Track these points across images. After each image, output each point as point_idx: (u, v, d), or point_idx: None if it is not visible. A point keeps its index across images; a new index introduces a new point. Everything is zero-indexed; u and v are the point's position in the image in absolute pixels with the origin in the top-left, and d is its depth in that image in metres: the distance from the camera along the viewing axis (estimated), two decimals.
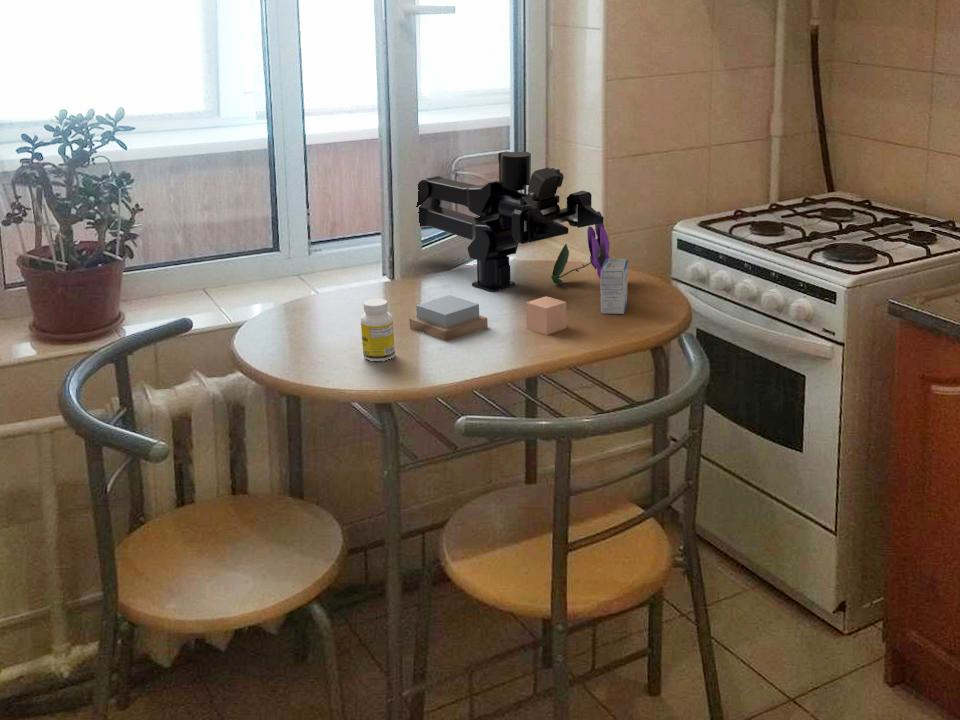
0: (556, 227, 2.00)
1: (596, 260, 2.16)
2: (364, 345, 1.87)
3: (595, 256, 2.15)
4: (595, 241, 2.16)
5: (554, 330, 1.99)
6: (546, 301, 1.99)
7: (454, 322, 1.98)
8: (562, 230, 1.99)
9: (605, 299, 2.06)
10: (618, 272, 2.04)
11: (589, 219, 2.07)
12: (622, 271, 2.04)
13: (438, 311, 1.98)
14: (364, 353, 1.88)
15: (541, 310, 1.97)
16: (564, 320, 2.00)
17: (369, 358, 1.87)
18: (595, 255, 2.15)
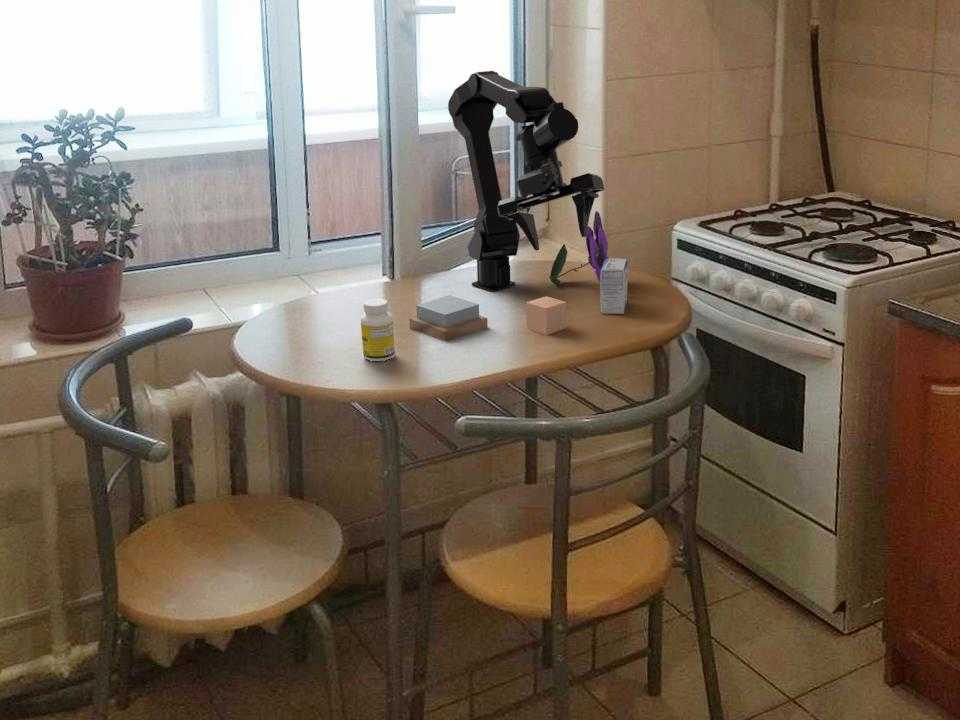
0: None
1: (594, 260, 2.16)
2: (364, 345, 1.87)
3: (593, 256, 2.16)
4: (593, 241, 2.16)
5: (554, 330, 1.99)
6: (546, 301, 1.99)
7: (453, 322, 1.98)
8: None
9: (605, 299, 2.06)
10: (618, 272, 2.04)
11: None
12: (622, 271, 2.04)
13: (438, 311, 1.98)
14: (364, 353, 1.88)
15: (541, 310, 1.97)
16: (564, 320, 2.00)
17: (369, 358, 1.87)
18: (593, 255, 2.16)
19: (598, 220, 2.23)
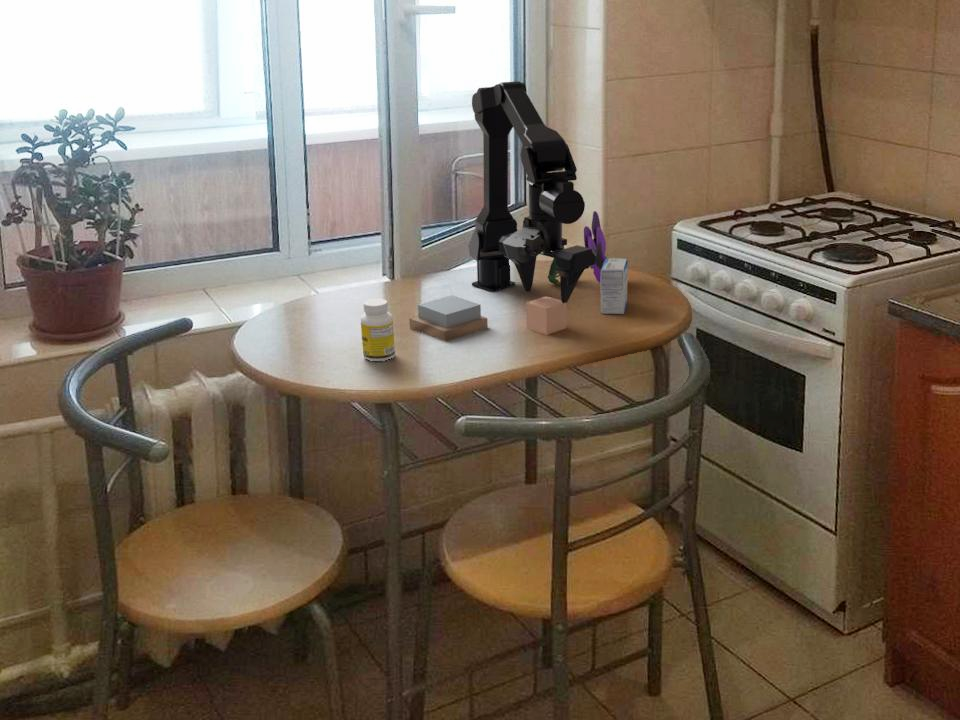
0: None
1: None
2: (364, 345, 1.87)
3: None
4: (591, 241, 2.17)
5: (554, 330, 1.99)
6: (546, 301, 1.99)
7: (454, 322, 1.98)
8: None
9: (605, 299, 2.06)
10: (618, 272, 2.04)
11: None
12: (622, 271, 2.04)
13: (439, 311, 1.98)
14: (364, 353, 1.88)
15: (541, 310, 1.97)
16: (564, 320, 2.00)
17: (369, 358, 1.87)
18: None
19: (596, 220, 2.23)
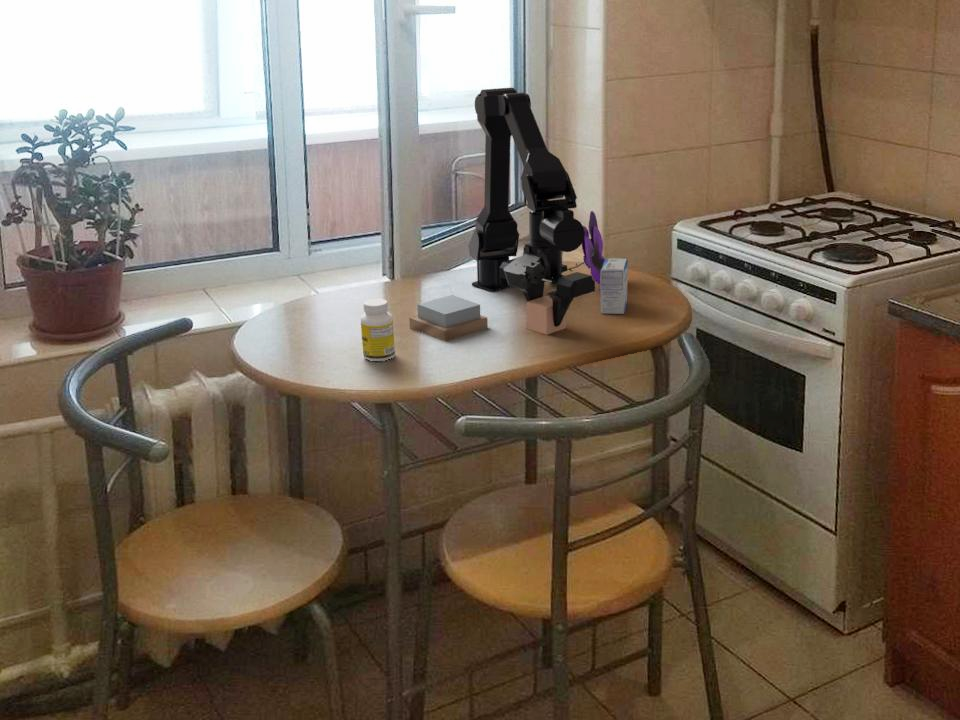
0: None
1: (589, 260, 2.17)
2: (364, 345, 1.87)
3: (588, 256, 2.16)
4: (588, 241, 2.17)
5: (554, 329, 1.99)
6: (545, 301, 1.99)
7: (454, 322, 1.97)
8: None
9: (605, 299, 2.06)
10: (618, 272, 2.04)
11: None
12: (622, 271, 2.04)
13: (438, 310, 1.97)
14: (364, 353, 1.88)
15: (541, 309, 1.97)
16: (564, 320, 2.00)
17: (369, 358, 1.87)
18: (588, 255, 2.16)
19: (593, 220, 2.24)
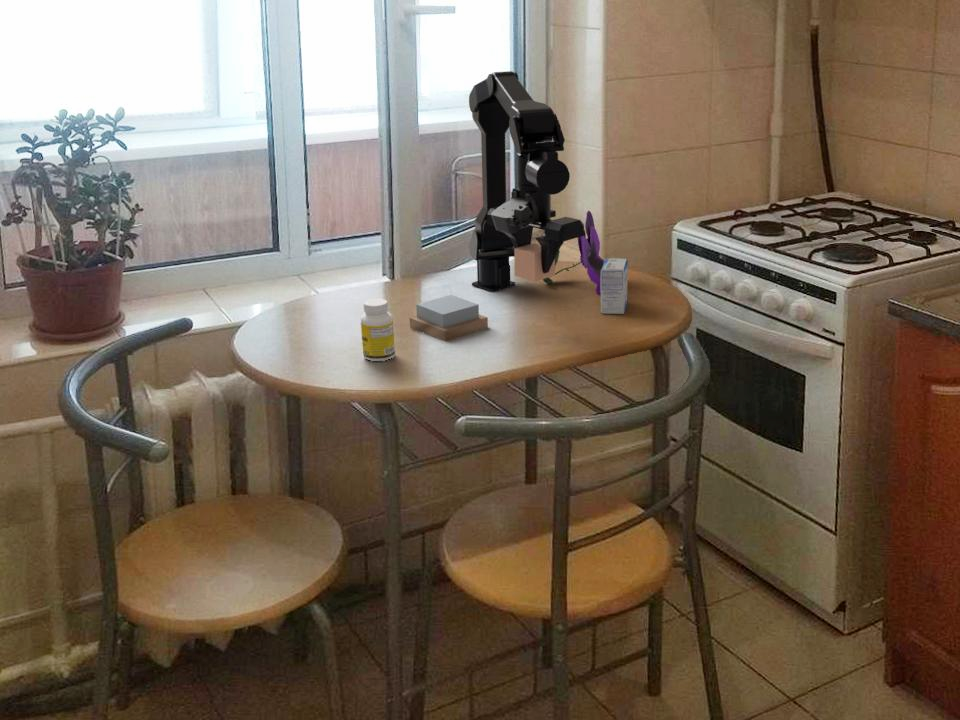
0: None
1: (586, 259, 2.17)
2: (364, 345, 1.87)
3: (585, 255, 2.16)
4: (585, 240, 2.17)
5: (543, 276, 1.95)
6: (534, 247, 1.96)
7: (452, 322, 1.97)
8: None
9: (605, 299, 2.06)
10: (618, 272, 2.04)
11: None
12: (622, 271, 2.04)
13: (436, 310, 1.98)
14: (364, 353, 1.88)
15: (530, 255, 1.93)
16: (552, 267, 1.96)
17: (369, 358, 1.87)
18: (585, 254, 2.16)
19: (590, 220, 2.24)
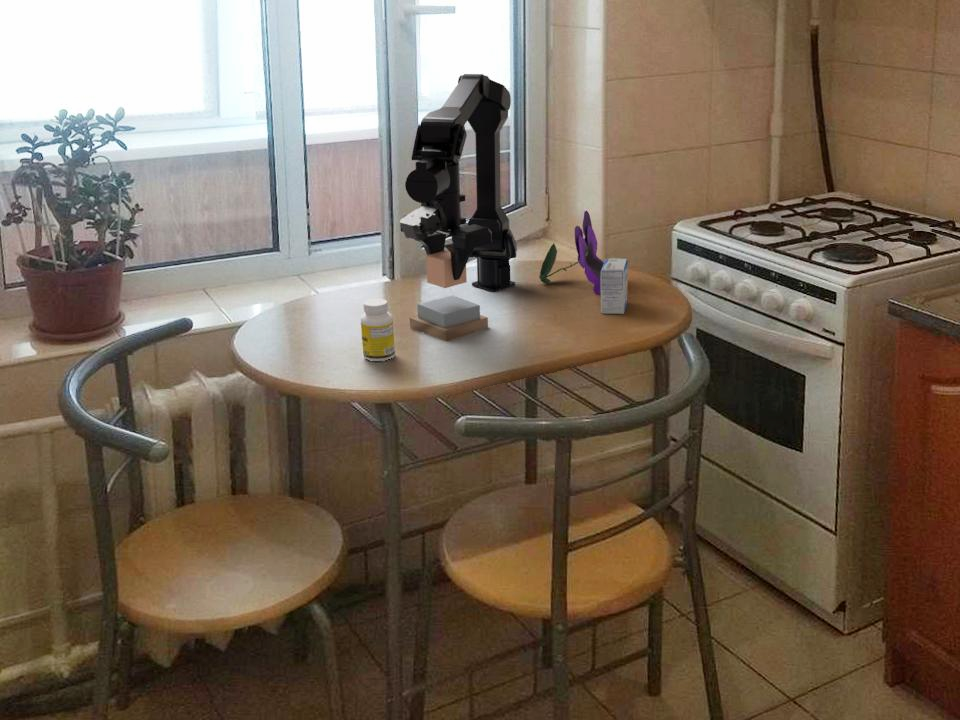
0: None
1: (583, 259, 2.17)
2: (364, 345, 1.87)
3: (582, 255, 2.16)
4: (582, 240, 2.17)
5: (453, 283, 1.97)
6: (445, 254, 1.98)
7: (453, 322, 1.97)
8: None
9: (605, 299, 2.06)
10: (618, 272, 2.04)
11: None
12: (622, 271, 2.04)
13: (438, 310, 1.97)
14: (364, 353, 1.88)
15: (440, 262, 1.95)
16: (464, 273, 1.98)
17: (369, 358, 1.87)
18: (582, 254, 2.16)
19: (587, 220, 2.24)
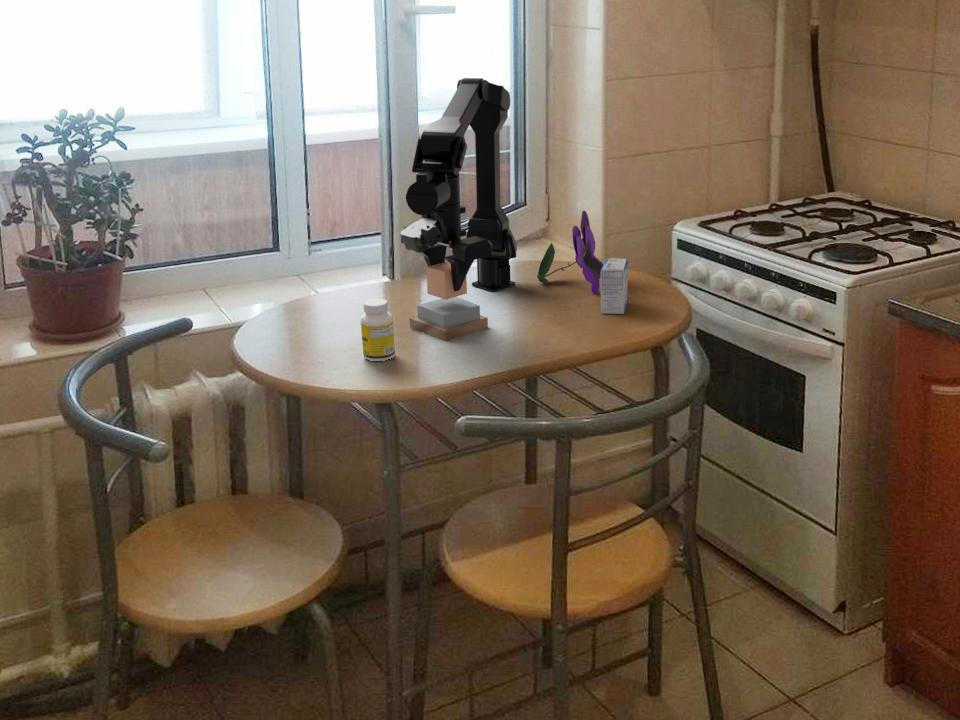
0: None
1: (581, 259, 2.17)
2: (364, 345, 1.87)
3: (580, 255, 2.16)
4: (580, 240, 2.17)
5: (454, 295, 1.98)
6: (446, 266, 1.99)
7: (453, 323, 1.97)
8: None
9: (605, 299, 2.06)
10: (618, 272, 2.04)
11: None
12: (622, 271, 2.04)
13: (437, 311, 1.97)
14: (364, 353, 1.88)
15: (440, 274, 1.96)
16: (464, 285, 1.99)
17: (369, 358, 1.87)
18: (580, 254, 2.16)
19: (585, 220, 2.24)
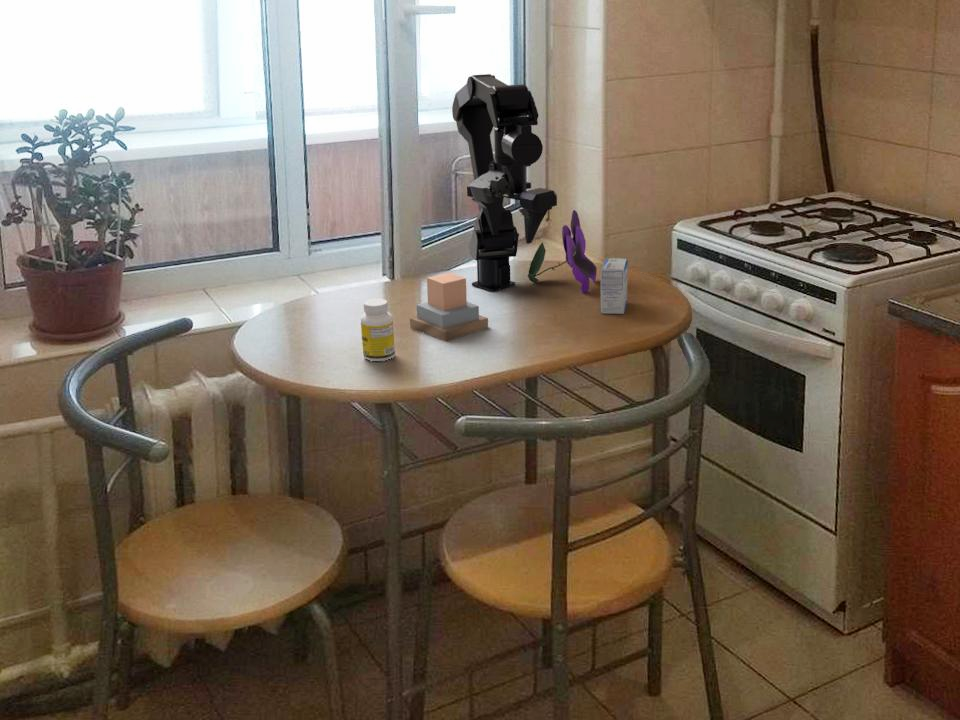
0: None
1: (571, 258, 2.18)
2: (364, 345, 1.87)
3: (570, 254, 2.17)
4: (570, 240, 2.18)
5: (453, 306, 1.99)
6: (446, 277, 1.99)
7: (451, 323, 1.97)
8: None
9: (605, 299, 2.06)
10: (618, 272, 2.04)
11: None
12: (622, 271, 2.04)
13: (436, 311, 1.97)
14: (364, 353, 1.88)
15: (439, 285, 1.97)
16: (464, 297, 2.00)
17: (369, 358, 1.87)
18: (570, 253, 2.17)
19: (575, 219, 2.25)
